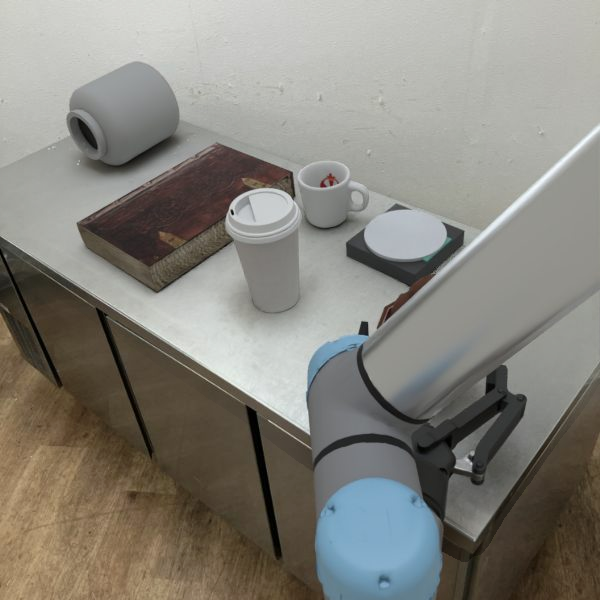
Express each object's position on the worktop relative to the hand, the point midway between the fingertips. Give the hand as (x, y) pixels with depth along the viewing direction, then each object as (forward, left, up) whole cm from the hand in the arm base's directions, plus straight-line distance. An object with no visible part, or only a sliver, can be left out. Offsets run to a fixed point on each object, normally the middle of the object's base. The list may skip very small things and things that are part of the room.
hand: (427, 336), depth 70 cm
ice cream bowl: (0, 0, -8) cm, 8 cm away
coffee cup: (+21, +13, -8) cm, 26 cm away
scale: (+24, -7, -8) cm, 26 cm away
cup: (+35, 0, -8) cm, 36 cm away
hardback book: (+44, +21, -8) cm, 49 cm away
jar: (+68, +31, -8) cm, 75 cm away
